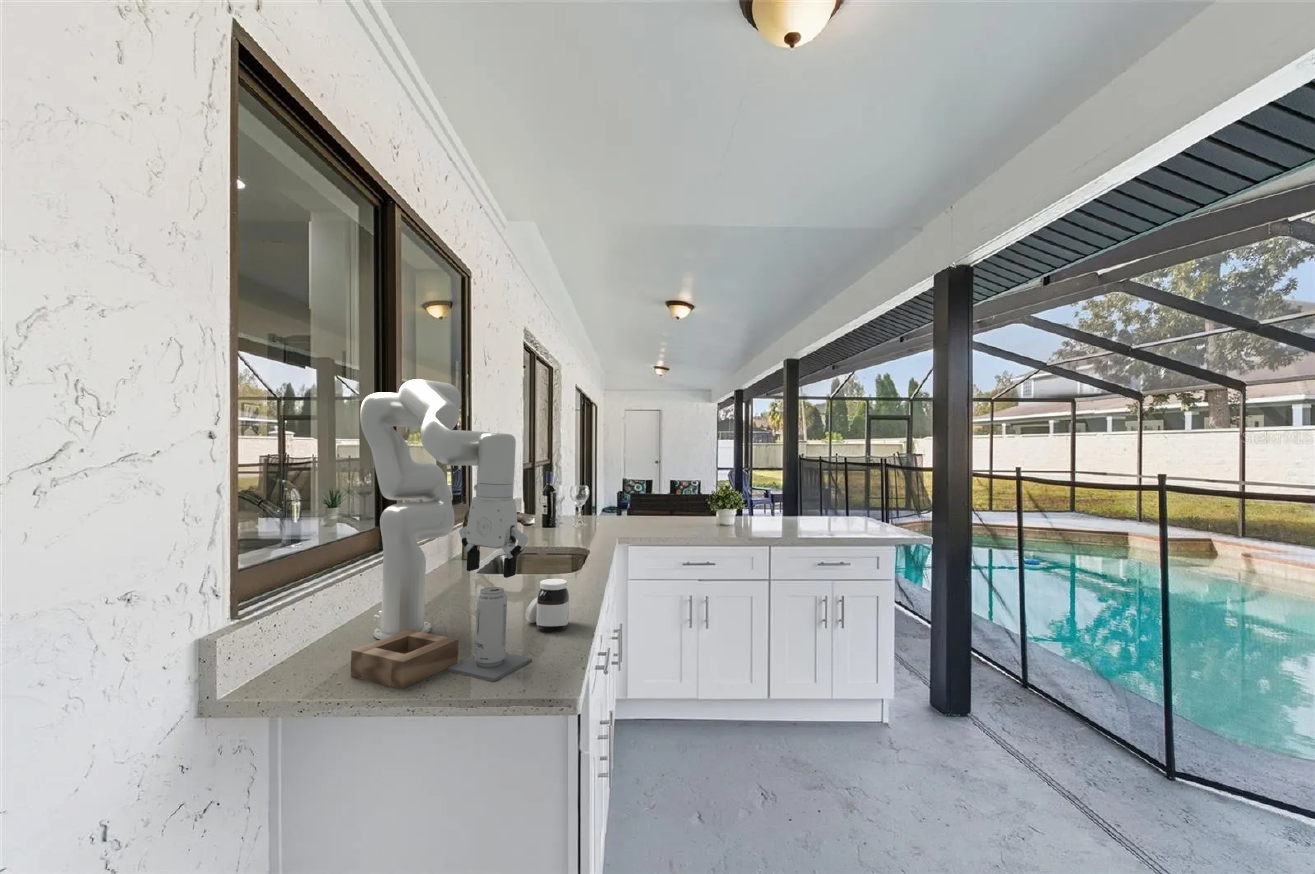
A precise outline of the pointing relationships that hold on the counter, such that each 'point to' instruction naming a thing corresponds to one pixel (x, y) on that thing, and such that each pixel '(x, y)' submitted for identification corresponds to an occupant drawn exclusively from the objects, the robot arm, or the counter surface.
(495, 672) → the rubber mat
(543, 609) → the spread jar
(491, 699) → the counter surface
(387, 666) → the walnut frame
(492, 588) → the energy drink can
